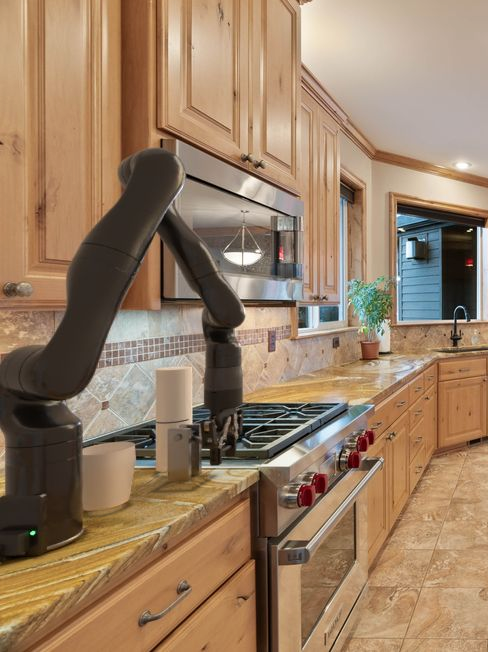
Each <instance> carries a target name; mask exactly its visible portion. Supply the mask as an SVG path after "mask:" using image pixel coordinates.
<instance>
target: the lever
mask: <svg viewBox="0 0 488 652" xmlns="http://www.w3.org/2000/svg"><path fill="white" fill-rule="evenodd" d="M181 428H188V427H185V426H184V427H181ZM195 432H196V431H195V430H193V429H191V441H194V442H196V443H199V444H201V445H202V437H199V436H196V435H194V434H195ZM208 441H209V439H208ZM202 446H203V445H202ZM232 447H233V445H232V444H231V443H228V444H226V445H225V444H224V445H222V447H221V448H222V455H223V454H225V452H226V451H228V450H230V449H232Z"/></svg>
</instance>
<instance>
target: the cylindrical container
mask: <svg viewBox="0 0 488 652" xmlns="http://www.w3.org/2000/svg"><path fill="white" fill-rule="evenodd" d="M181 424H193V366H189V365H188V366H186V365H185V366H184V365H183V366H180V365H179V366H165V367H157V368H155V471H157V472H162V473H164V472H165V473H168V429H174V428H179V425H181Z"/></svg>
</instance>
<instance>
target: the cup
mask: <svg viewBox="0 0 488 652" xmlns="http://www.w3.org/2000/svg"><path fill="white" fill-rule="evenodd" d="M136 462H137V455H136V444H135V442H132V441H114V442H105V443H99V444H94V445H90V446H86V447H83V511H87V512H90V511H93V512H94V511H102V510H106V509H107V510H108V509H111V508H115V507H118V506H121V505H123V504H125V503H127V502H128V501H129V500H130V498H131V497H130V496H131V491H132V485H133V479H134V473H135V468H136Z"/></svg>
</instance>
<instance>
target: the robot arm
mask: <svg viewBox="0 0 488 652" xmlns="http://www.w3.org/2000/svg"><path fill="white" fill-rule="evenodd" d="M116 170H117V171H116V172H117V178H118V181H119V183H120V185H121V186H122V188H123V189H124V190H123V191H122V194H121V195H120V197H119V199H117V201H116V202H115V203H114V204H113V206H112V207H111V208H110V209H109V210H108V211H107V212H106V213H105V214H104V215H103V216H102V217H101V218H100V219H99V220H98V222H96V224H94V226H93V227H92V228H91V229H90V231H88V233H87V234H86V236H85V237H83V240H82V241H81V242H80V245H79V246H78V248H77V250H76V251H75V253H74V255H73V257H72V259H71V261H70V263H69V265H68V267H67V270H66V275H65V294H66V295H65V296H66V297H65V298H66V301H65V302H66V303H65V304H66V305H65V309H64V313H63V316H62V317H61V318H62V319H61V320H60V322H59V324H58V326H57V327H56V329H55V331H54V334H53V335H52V337H51V338H50V339H49V341H48V342H47V343H46V344H28V345H23V346H19V347H17V348H15V349H13V350H11V351H10V352H8V353H7V354H5V356H4V357H3V358H2V359H1V361H0V431H1V433H2V434H3V437H4V495H3V494H2V495H1V496H0V562H3V561H5V560H6V558H7V557H29V556H31V557H32V556H40V555H43V554H45V553H47V552H49V551H53V550H55V549H58V548H61V547H64V546H66V545H69V544H71V543H73V542H75V541H76V540H78V539H80V538H81V537H82V536H83V535H84V530H85V529H84V525H83V524H84V521H83V520H84V510H83V448H84V435H83V434H84V431H83V430H84V426H83V425H84V424H83V420H82V419H81V418H80V417H79V416H77V415H76V414H74V413H73V412H72V411H71V410H70V408H69V406H68V404H67V401H68V400H71V399H74V398H75V397H77V396H78V395H80V394H81V393H83V391H85V389H86V388H88V387H89V385H90V383H91V382H92V380H93V379H94V376H95V374H96V371H97V369H98V367H99V364H100V360H101V357H102V355H103V352H104V348H105V346H106V343H107V339H108V336H109V334H110V331H111V328H112V326H113V325H114V322H115V320H116V318H117V316H118V313H119V311H120V309H121V307H122V305H123V303H124V300H125V298H126V296H127V294H128V293H129V290H130V288H131V287H132V286H133V283H134V282H135V279H136V277H137V275H138V273H139V271H140V269H141V267H142V265H143V262H144V260H145V257H146V255H147V253H148V251H149V249H150V247H151V245H152V242H153V240H154V238H155V236H156V234H157V235H158V236H159V238H160V239H161V241H162V242H163V244H164V245H165V247H166V248H167V250H168V251H169V253H170V255H171V256H172V258H173V260H174V261H175V263H176V265H177V268H178V269H179V272H180V273H181V275H182V276H183V278H184V280H185V282H186V284H187V286H188V287H189V288H190V291H192V292H193V293H194V294H196V295H197V296H198V297H199V299H200V300H201V302H202V303H203V308H202V312H201V328H202V334H203V339H204V345H205V353H204V355H205V356H204V358H205V359H204V363H205V364H204V374H203V408H204V409H205V410H209V411H210V412H209V417H208V420H206V421H201V422H200V424H201V425H200V426H201V435H202V449H209V465H210V466H211V467H214V466H217V467H218V466H221V465H222V464H223V454H222V448H221V447H222V446H223V442H224V445H226V444H228V443H231V444H232V445H233V447H232V449H230V450H228V451H226V452H225V453H224V456H225V457H227V458H231V457H235V456H236V455H237V440H238V439H239V435H240V436H241V435H242V434H243V428H244V427H243V425H244V416H245V415H244V414H245V410H244V408H240V407H241V406H242V405H243V404H244V391H243V390H244V381H243V380H244V375H243V373H244V372H243V367H242V362H243V361H242V359H243V358H242V357H243V356H242V351H243V350H242V345H241V343H240V341H239V340H238V339H237V329H238V328H239V327H240V326H241V325H243V323H244V322H245V320H246V308H245V306H244V303H243V302H242V300H241V298H240V296H239V295H238V293H236V291H235V289H234V288H233V287H232V286H231V284H230V283H229V282H228V281H227V279H226V277H225V275H224V273H223V271H222V270H221V267H220V265H219V263H218V261H217V259H216V257H215V255H214V253H213V252H212V250H211V249H210V246H209V245H208V244H207V243H206V242H205V241H204V240H203V239H202V238H201V237H200V236H199V235H198V233H196V231H194V230H193V229H192V228H191V227H190V225H188V223H187V222H186V220H184V218H183V217H182V215H180V213H179V211H178V209H177V207H176V206H175V203H174V201H175V199H176V198H177V196H178V195H179V194H180V192H181V191H182V189H183V188H184V186H185V183H186V179H187V171H186V167H185V164H184V162H183V161H182V159H181V158H180V157H179V156H178V155H177V154H176V153H175V152H173V151H171V150H169V149H167V148H163V147H150V148H145V149H141V150H139V151H137V152H135V153H133V154H131V155H130V156H127V157H126V158H124V159H123V160H122V161H121V162H120V163H119V165H118V167H117V169H116ZM236 328H237V329H236ZM224 439H225V440H224ZM208 440H209V441H208Z"/></svg>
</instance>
